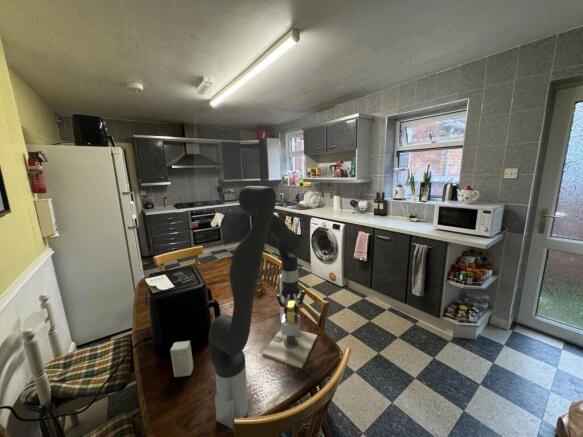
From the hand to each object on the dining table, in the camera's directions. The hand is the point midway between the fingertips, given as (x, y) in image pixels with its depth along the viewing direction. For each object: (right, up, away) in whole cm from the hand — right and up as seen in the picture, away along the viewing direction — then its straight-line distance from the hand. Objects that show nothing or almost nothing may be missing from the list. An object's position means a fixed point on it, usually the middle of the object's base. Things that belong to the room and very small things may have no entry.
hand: (291, 312), depth 108 cm
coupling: (0, -6, -2) cm, 6 cm away
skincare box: (-42, -17, -15) cm, 48 cm away
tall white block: (-2, -11, +18) cm, 21 cm away
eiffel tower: (-21, -6, +48) cm, 53 cm away
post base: (0, -14, -2) cm, 14 cm away
